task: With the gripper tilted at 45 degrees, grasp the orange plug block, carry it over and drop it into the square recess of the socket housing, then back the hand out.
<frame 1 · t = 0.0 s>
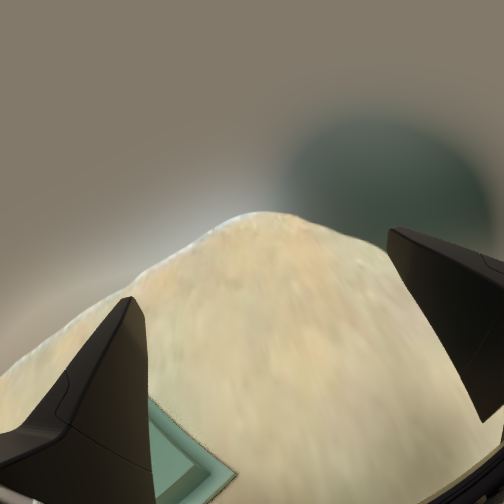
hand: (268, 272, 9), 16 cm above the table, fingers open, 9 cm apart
socket housing: (123, 471, 16), on the table
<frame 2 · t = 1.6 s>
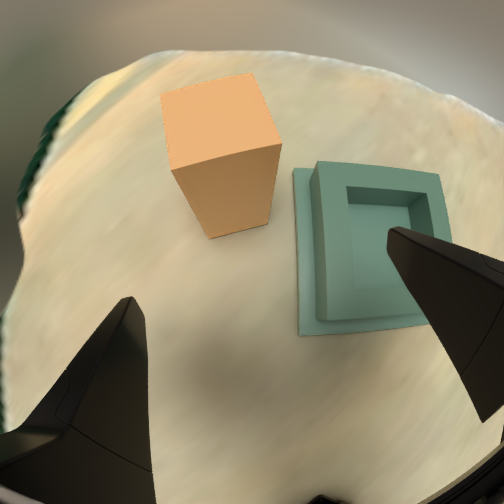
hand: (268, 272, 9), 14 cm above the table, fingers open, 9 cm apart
socket housing: (374, 248, 23), on the table
plug: (231, 204, 24), on the table
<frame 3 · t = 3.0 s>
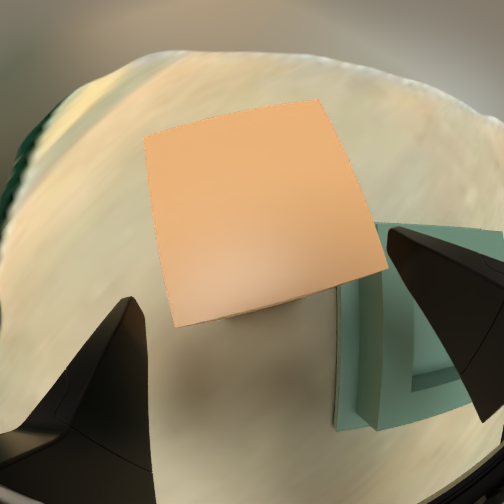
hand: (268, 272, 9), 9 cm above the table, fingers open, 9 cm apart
socket housing: (424, 321, 17), on the table
plug: (253, 270, 18), on the table
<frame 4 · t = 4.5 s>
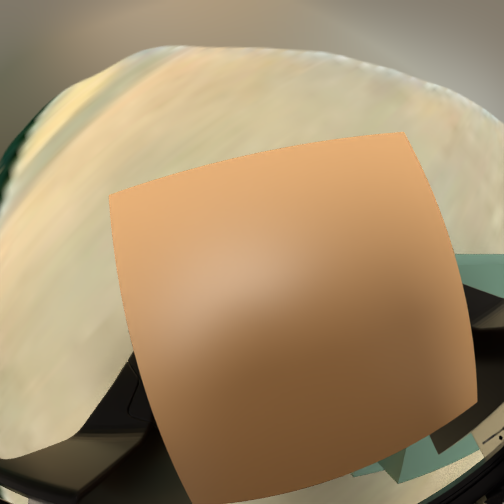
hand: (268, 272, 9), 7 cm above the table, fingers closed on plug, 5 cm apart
socket housing: (449, 358, 14), on the table
plug: (267, 313, 15), on the table, touching gripper
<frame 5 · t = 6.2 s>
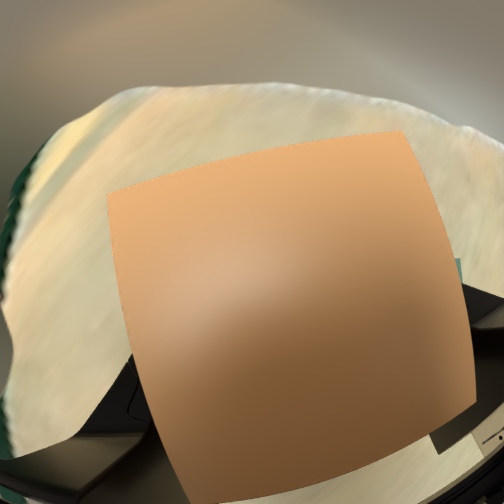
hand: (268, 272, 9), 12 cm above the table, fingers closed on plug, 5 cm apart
plug: (267, 312, 15), point 6 cm above the table, touching gripper
when the fingers open (8 cm above the table, at t = 8.2 s): plug drops 1 cm, resting on socket housing.
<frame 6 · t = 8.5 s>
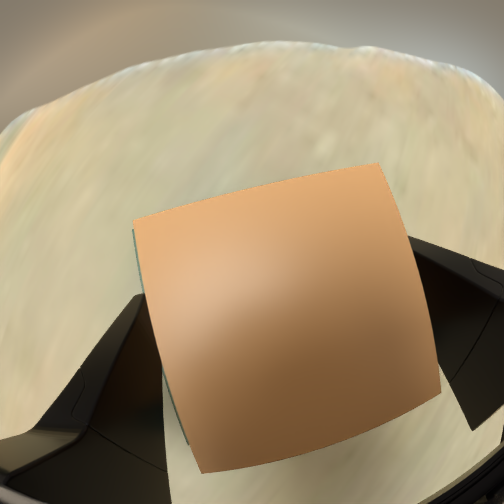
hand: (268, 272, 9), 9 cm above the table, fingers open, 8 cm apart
plug: (265, 313, 16), point 1 cm above the table, touching socket housing
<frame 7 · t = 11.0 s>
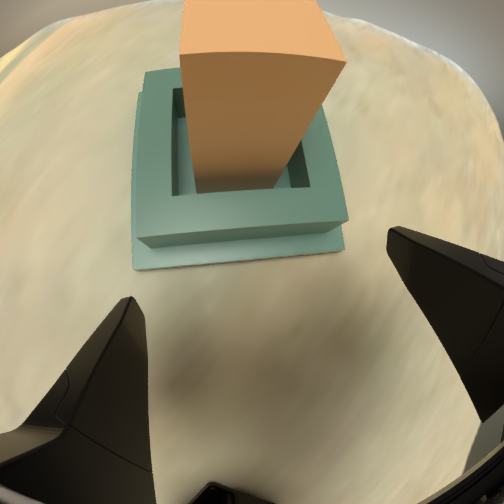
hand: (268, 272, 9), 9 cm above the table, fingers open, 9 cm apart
socket housing: (231, 162, 19), on the table
plug: (231, 157, 19), point 1 cm above the table, touching socket housing
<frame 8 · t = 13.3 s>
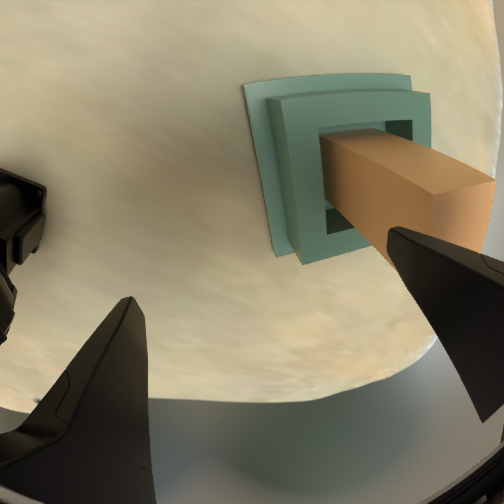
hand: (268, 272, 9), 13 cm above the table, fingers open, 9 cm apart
socket housing: (343, 159, 21), on the table
plug: (348, 161, 20), point 1 cm above the table, touching socket housing
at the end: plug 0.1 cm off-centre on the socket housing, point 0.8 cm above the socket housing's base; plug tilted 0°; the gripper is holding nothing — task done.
